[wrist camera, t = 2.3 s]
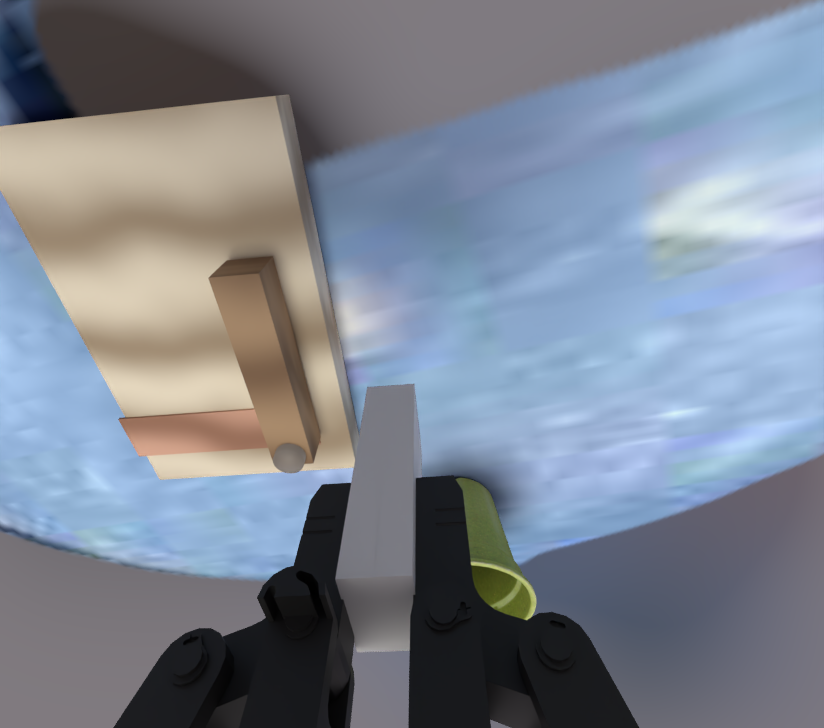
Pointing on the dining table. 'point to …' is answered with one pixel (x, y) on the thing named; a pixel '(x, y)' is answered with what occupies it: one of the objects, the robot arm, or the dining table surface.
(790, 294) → the dining table surface
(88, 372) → the dining table surface
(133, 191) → the stool seat
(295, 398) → the folding leg
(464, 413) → the dining table surface
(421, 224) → the dining table surface
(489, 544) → the plant pot
